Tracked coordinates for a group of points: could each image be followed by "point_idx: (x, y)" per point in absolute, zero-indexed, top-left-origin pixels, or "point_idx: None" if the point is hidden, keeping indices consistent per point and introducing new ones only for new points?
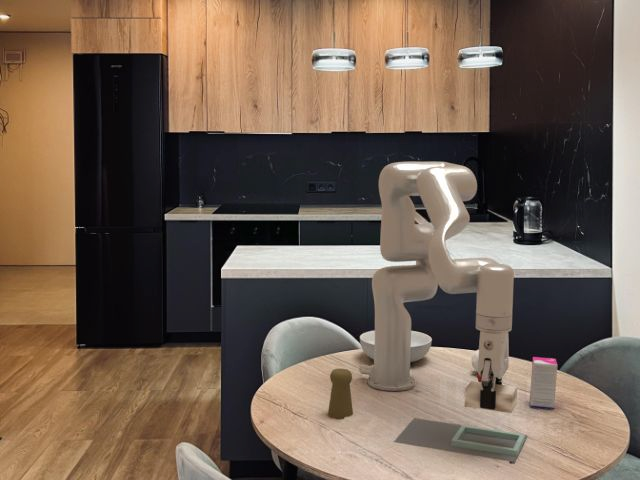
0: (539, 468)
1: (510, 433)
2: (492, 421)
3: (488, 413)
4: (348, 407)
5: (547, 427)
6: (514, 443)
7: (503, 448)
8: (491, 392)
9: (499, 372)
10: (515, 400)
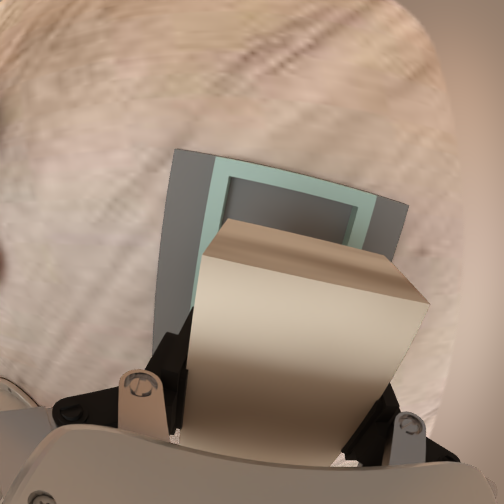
0: (425, 137)
1: (217, 208)
2: (86, 253)
3: (44, 261)
4: None
5: (89, 94)
6: (261, 192)
7: (363, 239)
8: (390, 417)
9: (494, 499)
10: (273, 239)
